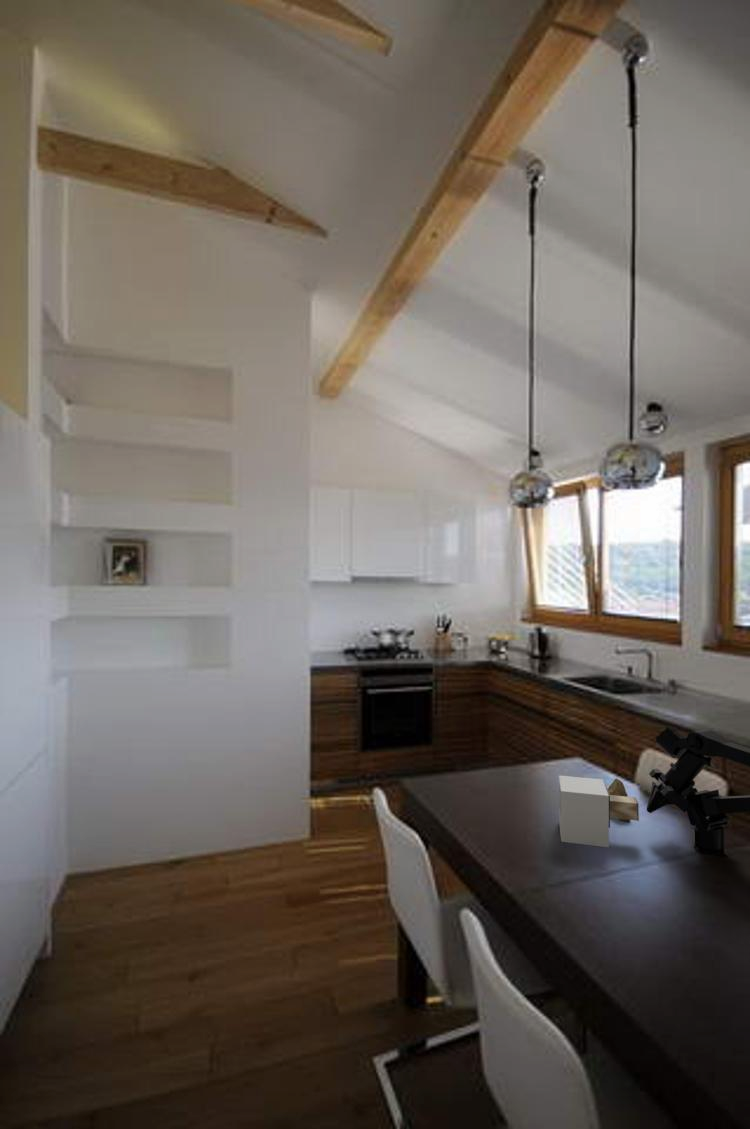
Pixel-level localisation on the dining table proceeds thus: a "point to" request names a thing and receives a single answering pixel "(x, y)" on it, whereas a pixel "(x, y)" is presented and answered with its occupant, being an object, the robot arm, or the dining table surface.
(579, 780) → the off-white upright box
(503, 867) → the dining table surface
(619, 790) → the rock
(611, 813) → the peg
